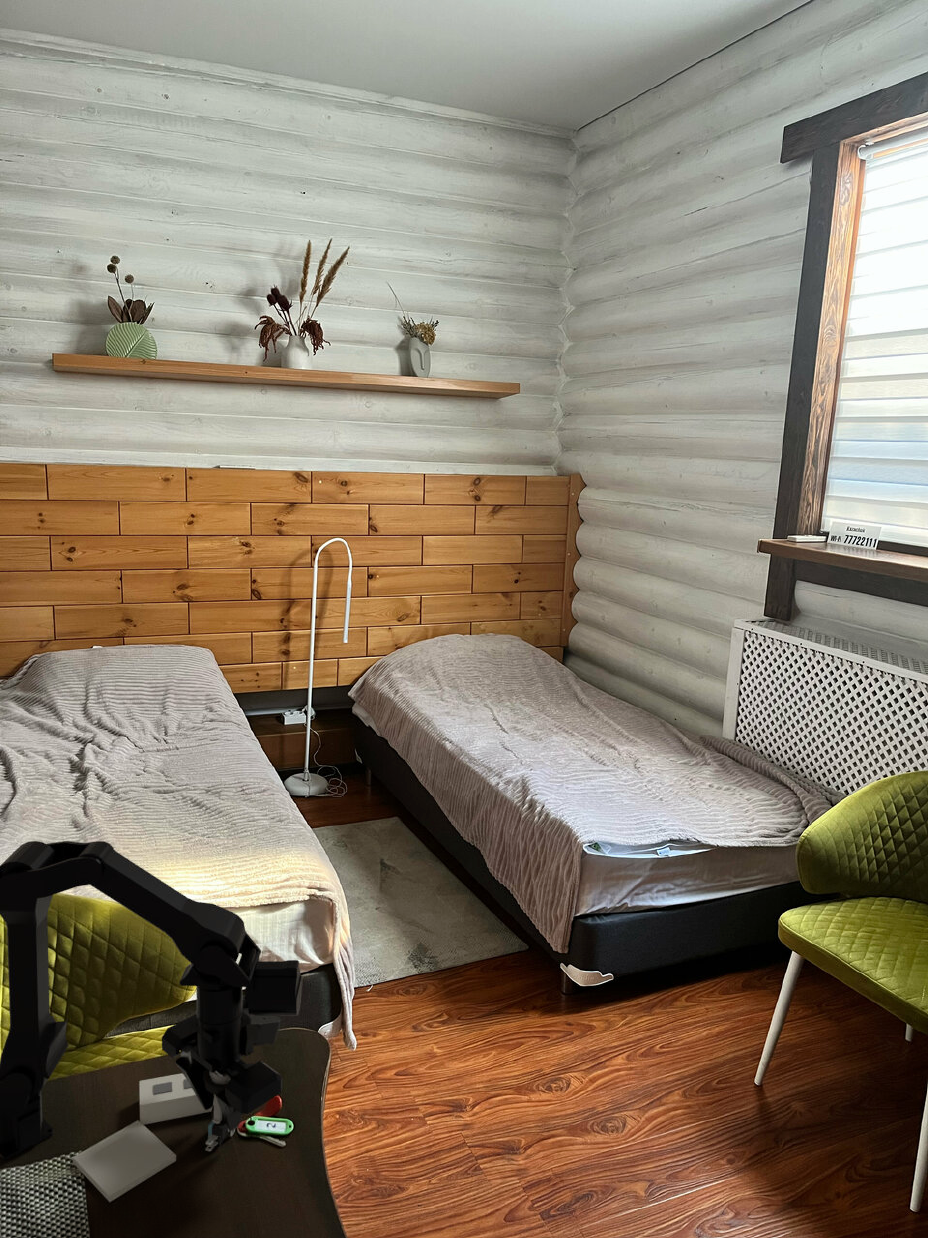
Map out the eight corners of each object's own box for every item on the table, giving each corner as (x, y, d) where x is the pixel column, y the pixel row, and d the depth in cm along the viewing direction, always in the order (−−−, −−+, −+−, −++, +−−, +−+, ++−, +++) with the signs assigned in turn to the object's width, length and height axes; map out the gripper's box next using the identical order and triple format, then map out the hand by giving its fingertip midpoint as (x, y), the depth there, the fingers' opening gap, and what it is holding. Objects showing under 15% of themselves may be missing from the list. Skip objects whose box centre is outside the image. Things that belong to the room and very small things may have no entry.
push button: (225, 1160, 117) (227, 1092, 115) (188, 1148, 119) (190, 1081, 117) (250, 1123, 124) (253, 1058, 122) (215, 1113, 125) (217, 1049, 123)
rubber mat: (73, 1163, 116) (72, 1157, 116) (138, 1125, 123) (138, 1120, 122) (109, 1202, 110) (109, 1196, 110) (176, 1160, 117) (176, 1155, 117)
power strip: (140, 1125, 123) (139, 1102, 122) (139, 1100, 127) (139, 1078, 127) (247, 1104, 127) (247, 1082, 127) (243, 1081, 132) (243, 1059, 131)
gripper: (315, 1014, 118) (314, 1121, 121) (229, 959, 130) (229, 1057, 133) (244, 1055, 110) (244, 1169, 113) (158, 992, 122) (160, 1096, 124)
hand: (220, 1118), depth 121 cm, fingers closed on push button, 5 cm apart
